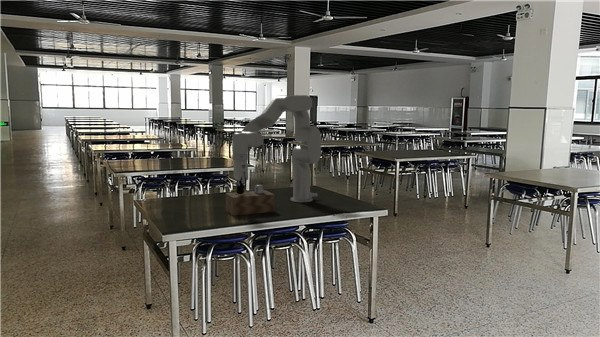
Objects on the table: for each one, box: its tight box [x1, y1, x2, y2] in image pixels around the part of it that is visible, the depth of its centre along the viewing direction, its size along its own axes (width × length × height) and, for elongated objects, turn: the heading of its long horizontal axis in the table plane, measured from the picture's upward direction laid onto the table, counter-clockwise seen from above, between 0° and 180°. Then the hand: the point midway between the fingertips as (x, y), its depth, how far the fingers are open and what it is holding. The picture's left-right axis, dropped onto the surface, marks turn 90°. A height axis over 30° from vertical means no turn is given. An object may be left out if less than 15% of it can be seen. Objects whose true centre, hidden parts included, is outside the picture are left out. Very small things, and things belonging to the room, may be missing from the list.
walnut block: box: [225, 189, 275, 216], centre depth 234 cm, size 22×12×9 cm, turn 116°
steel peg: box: [254, 184, 264, 194], centre depth 236 cm, size 4×4×8 cm
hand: (240, 193), depth 231 cm, fingers closed
